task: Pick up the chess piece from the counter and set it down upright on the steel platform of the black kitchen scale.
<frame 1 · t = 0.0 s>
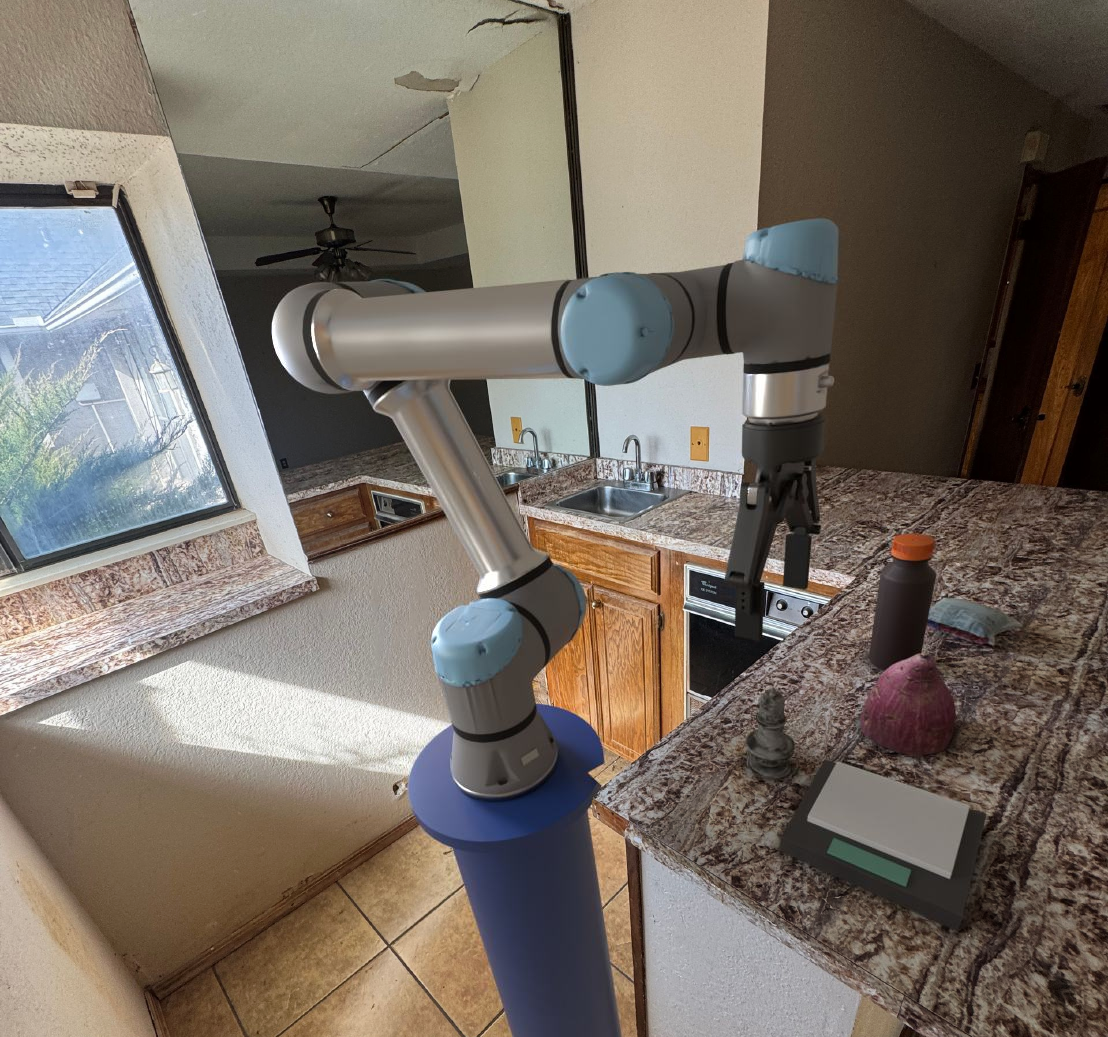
hand: (773, 610, 65), 21 cm above the countertop, tool pointing down, fingers open, 13 cm apart
bottle: (893, 662, 88), on the countertop
chess piece: (768, 765, 72), on the countertop
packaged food: (963, 632, 92), on the countertop
vegetable: (904, 731, 75), on the countertop
scale: (880, 840, 61), on the countertop
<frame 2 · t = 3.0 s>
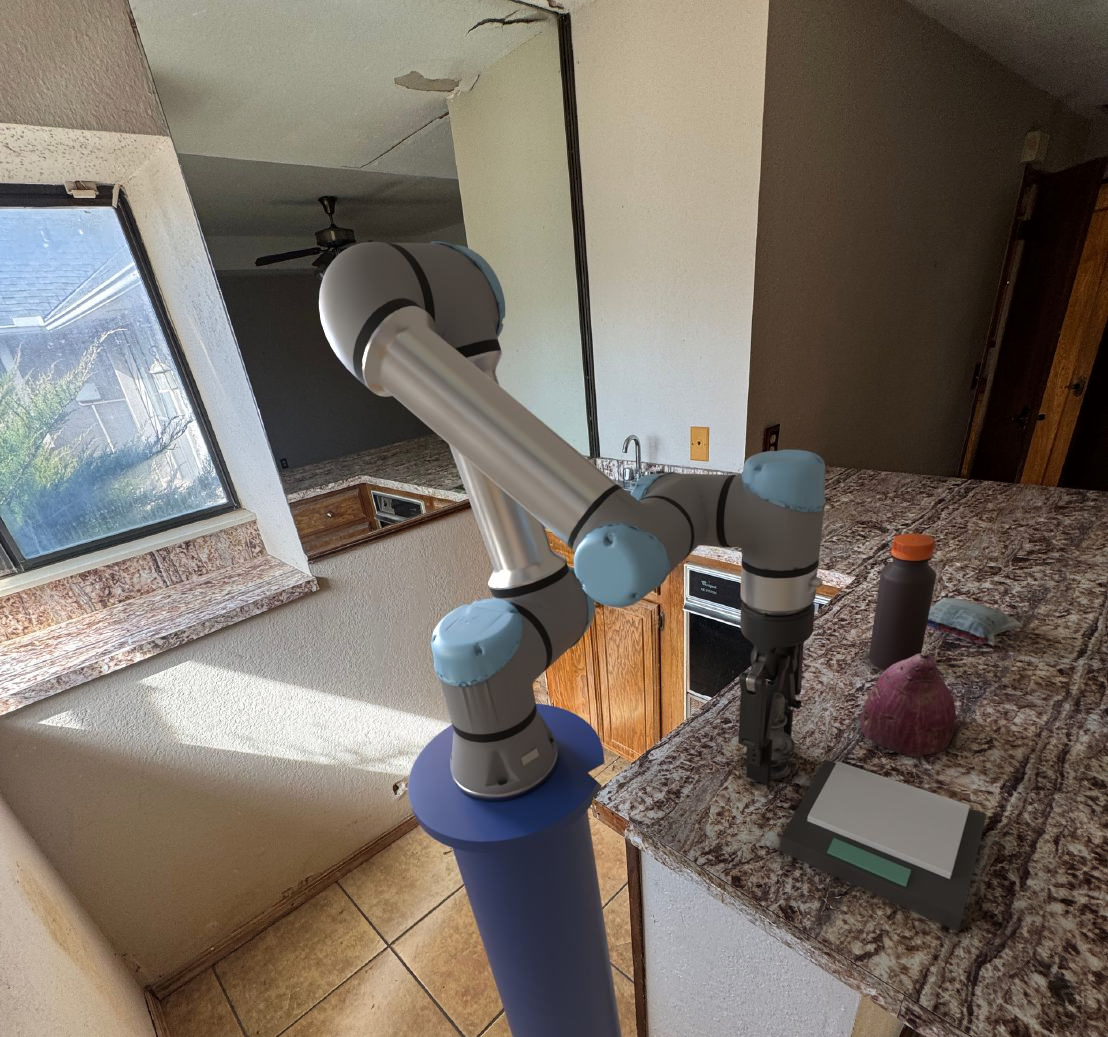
hand: (768, 763, 72), 0 cm above the countertop, tool pointing down, fingers closed on chess piece, 6 cm apart
chess piece: (768, 765, 72), on the countertop, touching gripper
everything else where it was.
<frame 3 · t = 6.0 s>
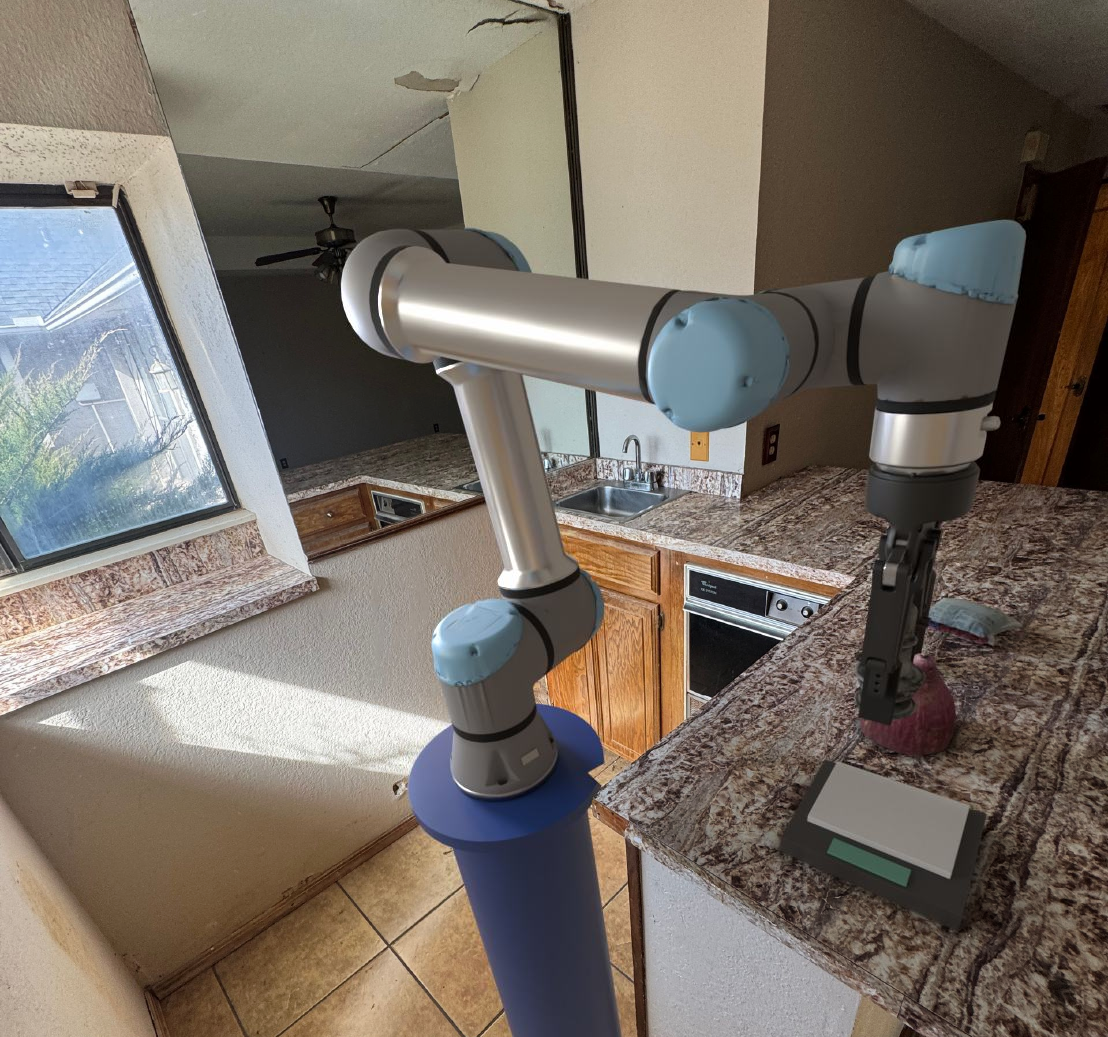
hand: (884, 700, 56), 16 cm above the countertop, tool pointing down, fingers closed on chess piece, 6 cm apart
chess piece: (883, 704, 56), point 16 cm above the countertop, touching gripper
everything else where it was.
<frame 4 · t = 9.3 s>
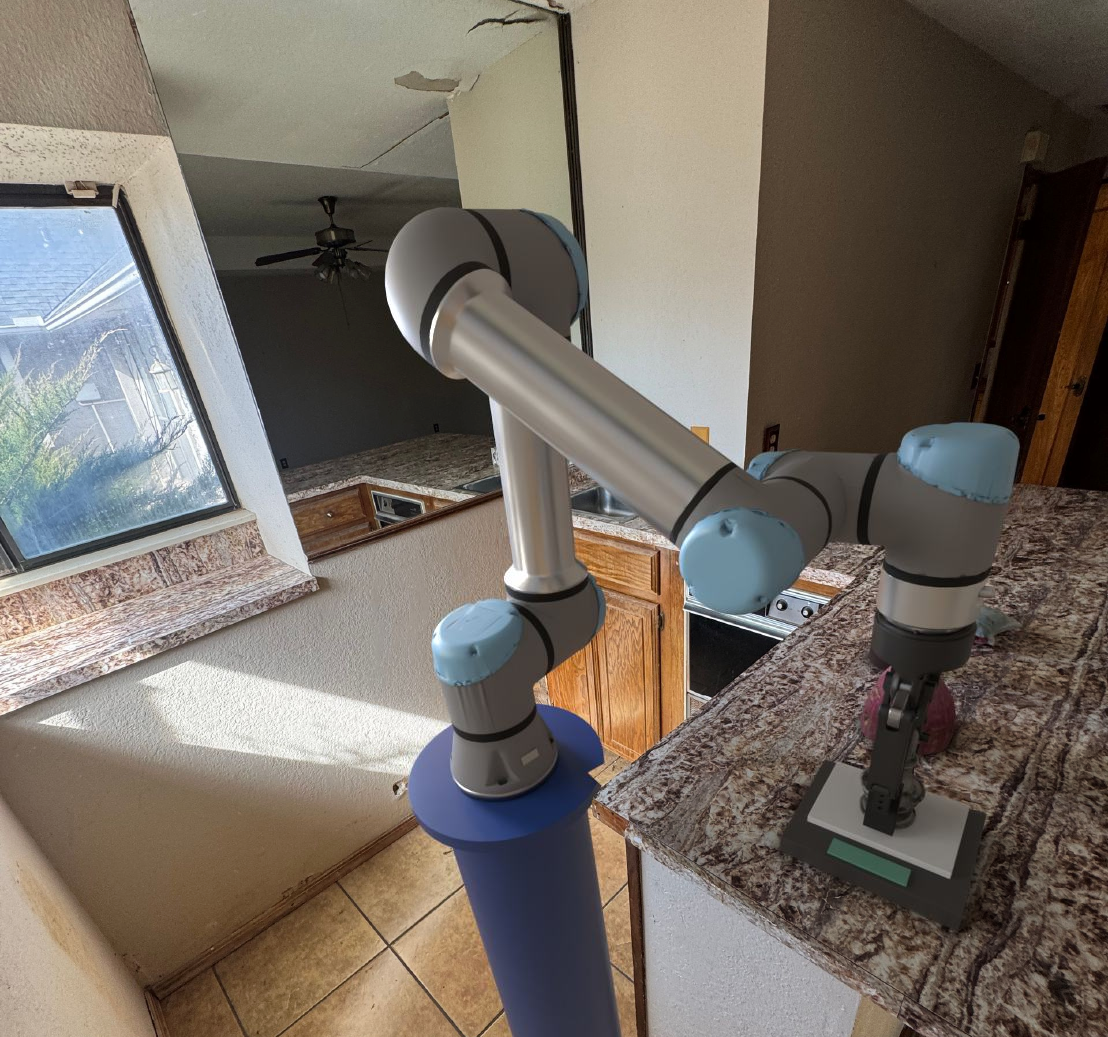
hand: (886, 807, 60), 3 cm above the countertop, tool pointing down, fingers closed on chess piece, 6 cm apart
chess piece: (886, 810, 60), point 3 cm above the countertop, touching gripper
everything else where it was.
when the fingers open (5 cm above the countertop, at t = 14.9 s): chess piece drops 1 cm, resting on scale.
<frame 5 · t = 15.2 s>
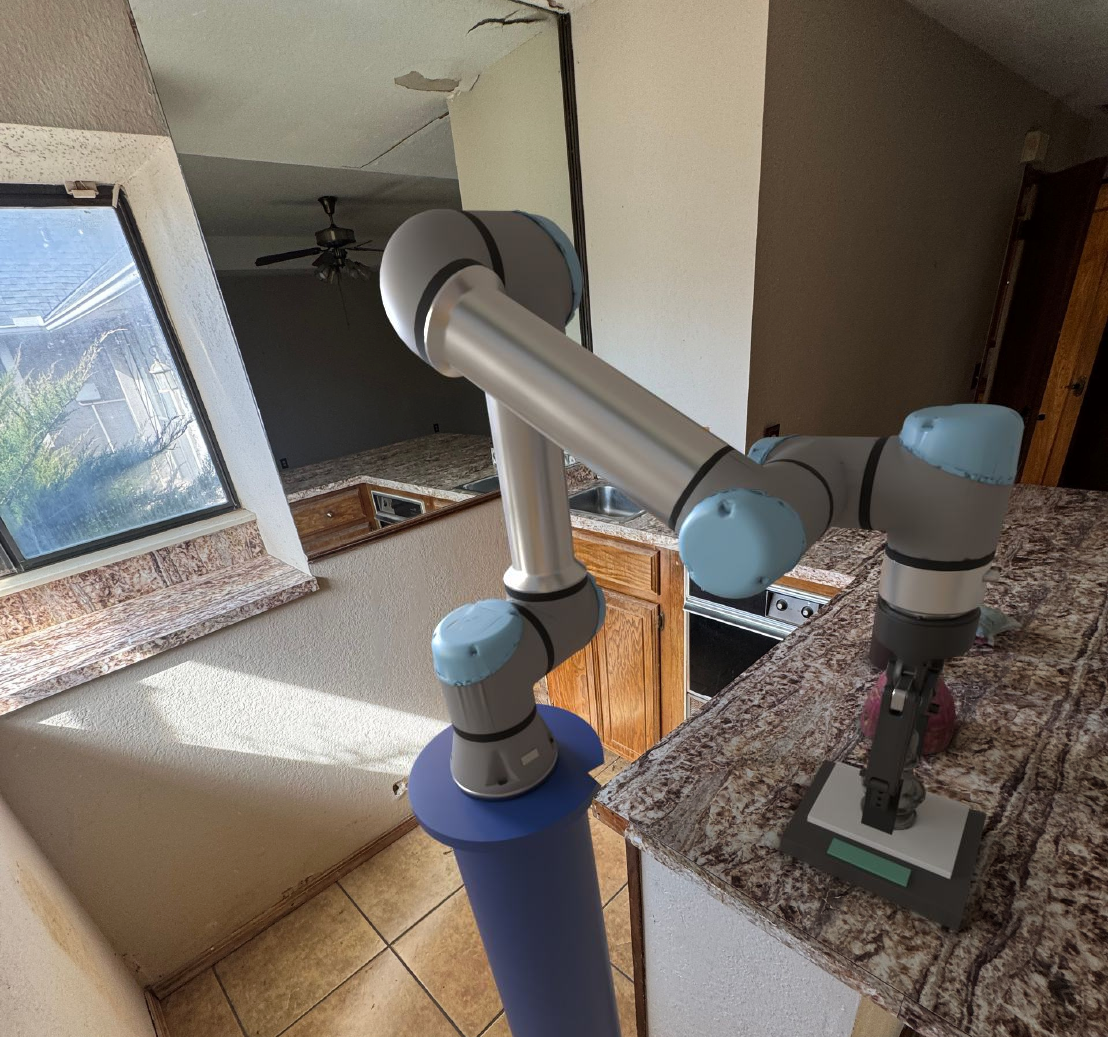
hand: (891, 792, 59), 6 cm above the countertop, tool pointing down, fingers open, 10 cm apart
chess piece: (887, 811, 60), point 3 cm above the countertop, touching scale
everything else where it was.
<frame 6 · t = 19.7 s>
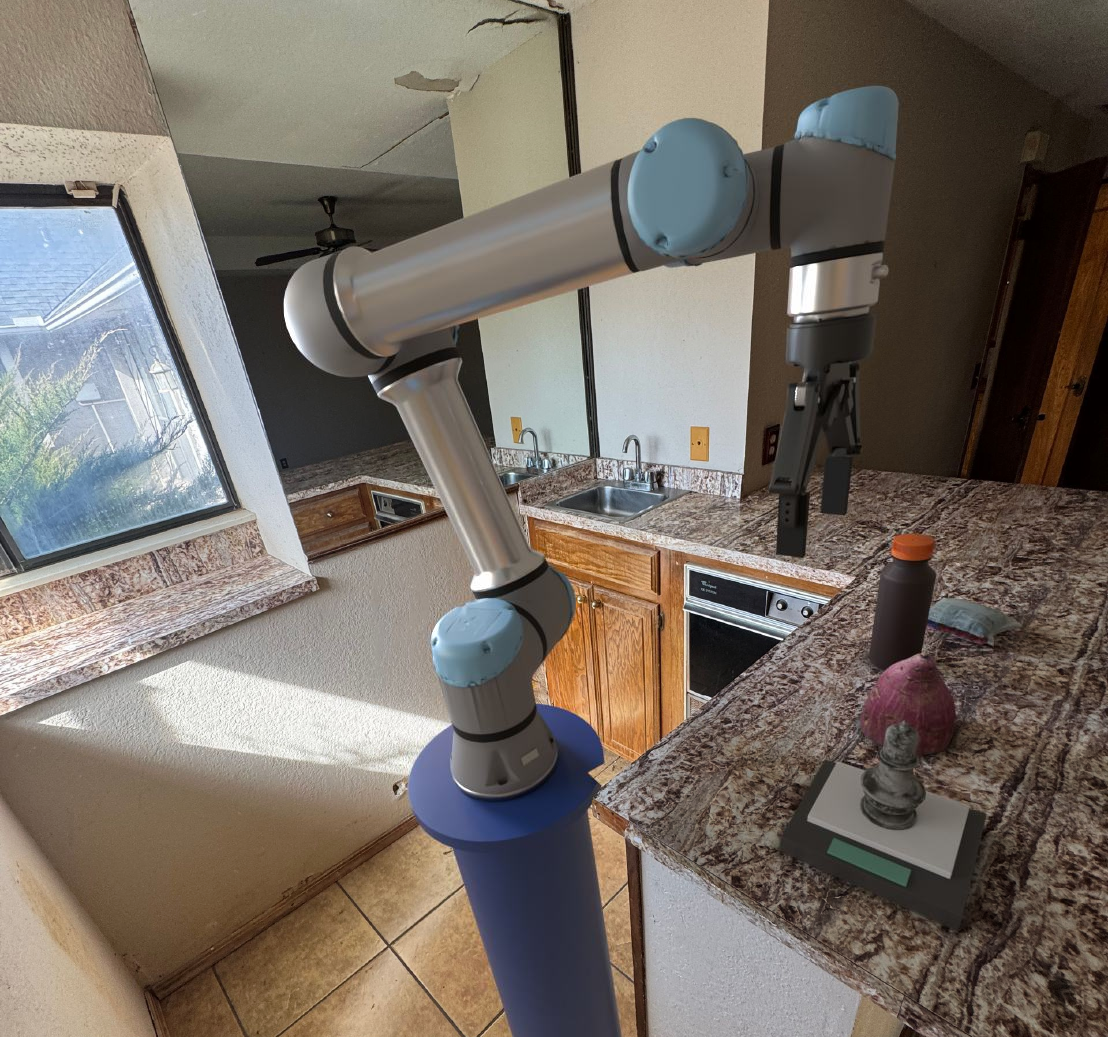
hand: (813, 533, 63), 29 cm above the countertop, tool pointing down, fingers open, 13 cm apart
nothing on the countertop moved.
at the end: chess piece inside the target area on the scale (0.0 cm from its centre), point 2.8 cm above the scale's base; chess piece tilted 0°; the gripper is holding nothing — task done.
